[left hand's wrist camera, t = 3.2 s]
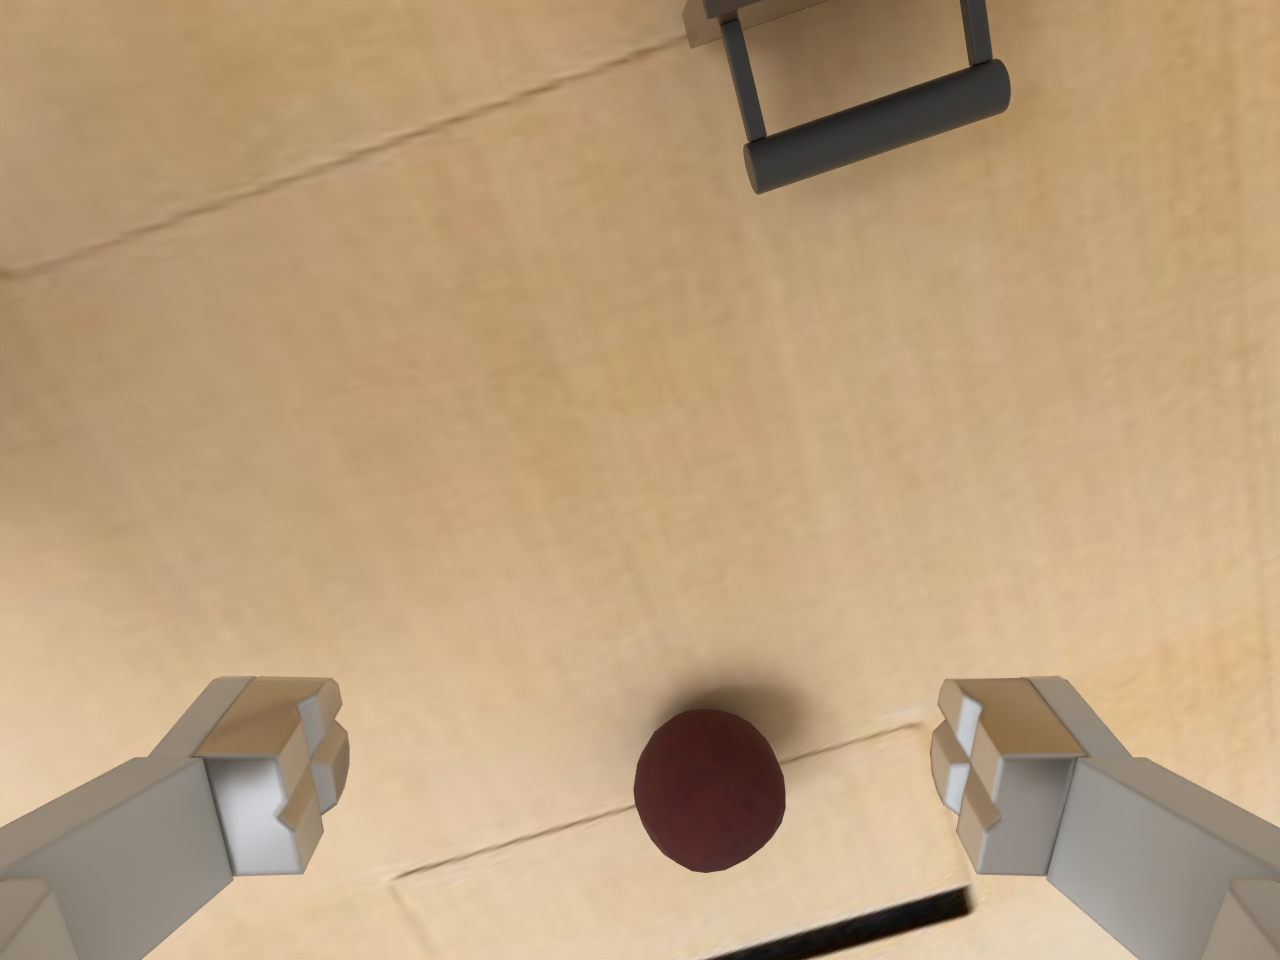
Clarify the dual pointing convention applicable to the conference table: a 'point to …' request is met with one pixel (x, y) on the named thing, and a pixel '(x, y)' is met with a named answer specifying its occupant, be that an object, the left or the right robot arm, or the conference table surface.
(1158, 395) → the conference table surface
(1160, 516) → the conference table surface
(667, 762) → the maroon ball
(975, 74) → the drawer
